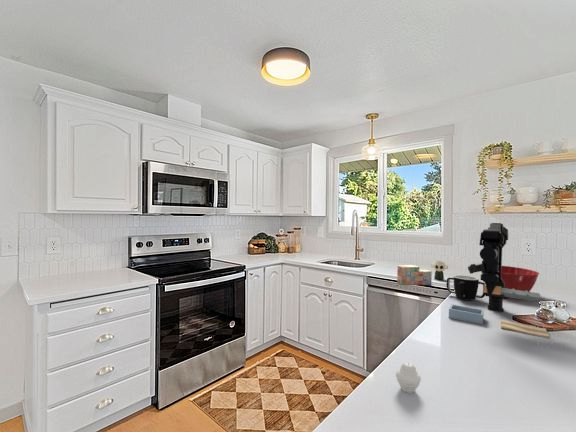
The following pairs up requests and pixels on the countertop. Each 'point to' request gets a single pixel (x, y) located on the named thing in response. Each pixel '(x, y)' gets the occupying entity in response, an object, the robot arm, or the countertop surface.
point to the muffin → (408, 377)
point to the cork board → (524, 328)
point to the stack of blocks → (413, 275)
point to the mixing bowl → (518, 278)
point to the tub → (466, 314)
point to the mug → (465, 287)
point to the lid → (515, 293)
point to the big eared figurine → (439, 269)
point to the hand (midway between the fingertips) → (489, 294)
